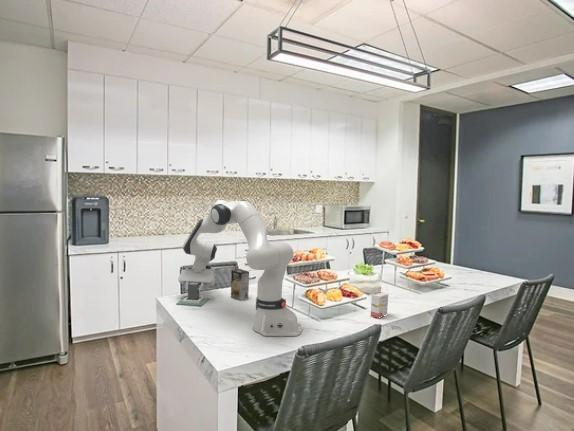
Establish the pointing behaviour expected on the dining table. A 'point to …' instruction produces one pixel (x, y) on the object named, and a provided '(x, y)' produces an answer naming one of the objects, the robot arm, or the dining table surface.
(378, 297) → the ink cartridge box
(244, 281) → the coffee box
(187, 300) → the board
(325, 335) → the dining table surface
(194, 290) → the plug
